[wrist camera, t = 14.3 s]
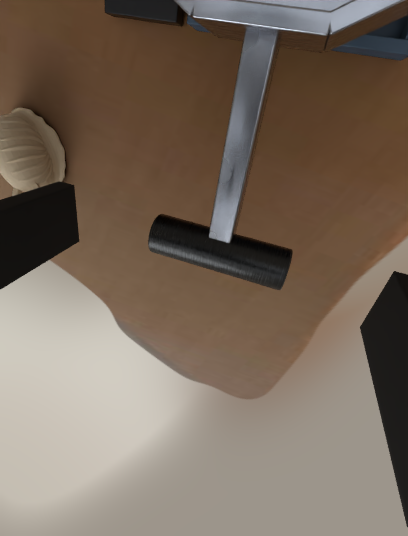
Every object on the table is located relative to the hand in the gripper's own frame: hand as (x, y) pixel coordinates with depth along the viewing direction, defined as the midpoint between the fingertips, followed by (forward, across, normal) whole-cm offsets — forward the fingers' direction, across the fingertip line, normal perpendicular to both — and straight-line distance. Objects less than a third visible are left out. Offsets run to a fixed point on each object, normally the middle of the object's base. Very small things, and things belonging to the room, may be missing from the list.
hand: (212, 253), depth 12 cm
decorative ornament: (+12, -19, -2) cm, 23 cm away
